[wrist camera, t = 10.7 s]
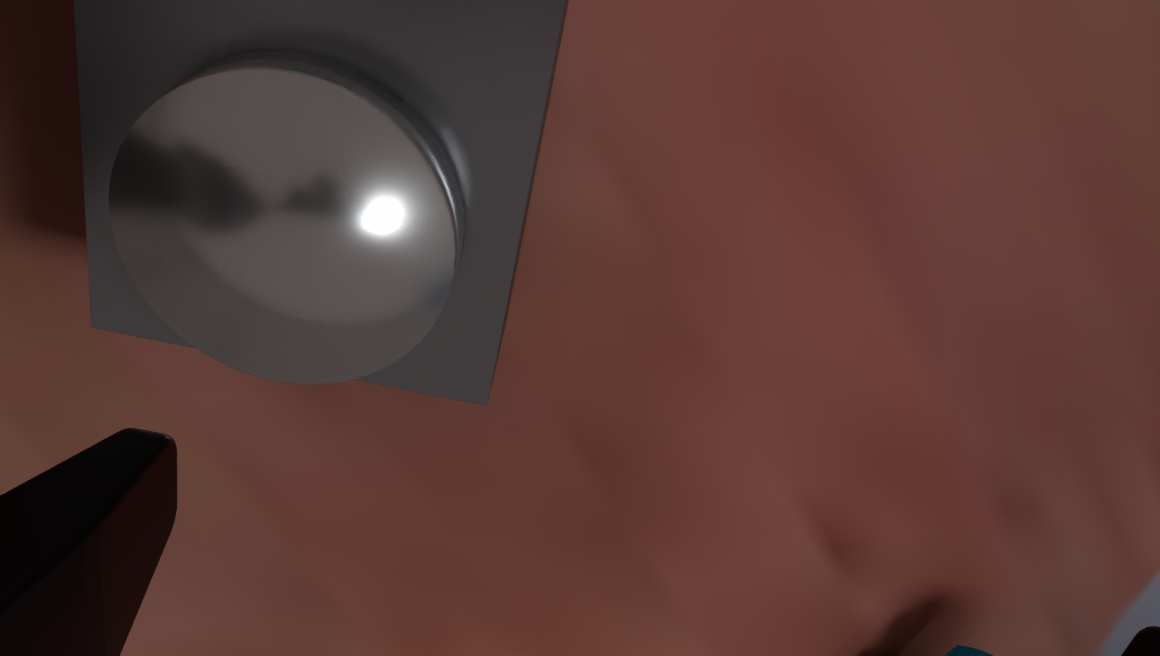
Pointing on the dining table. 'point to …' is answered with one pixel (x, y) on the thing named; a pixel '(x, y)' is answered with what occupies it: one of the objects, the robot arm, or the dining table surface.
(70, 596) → the robot arm
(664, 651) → the dining table surface
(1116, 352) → the dining table surface
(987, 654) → the gear
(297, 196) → the block
